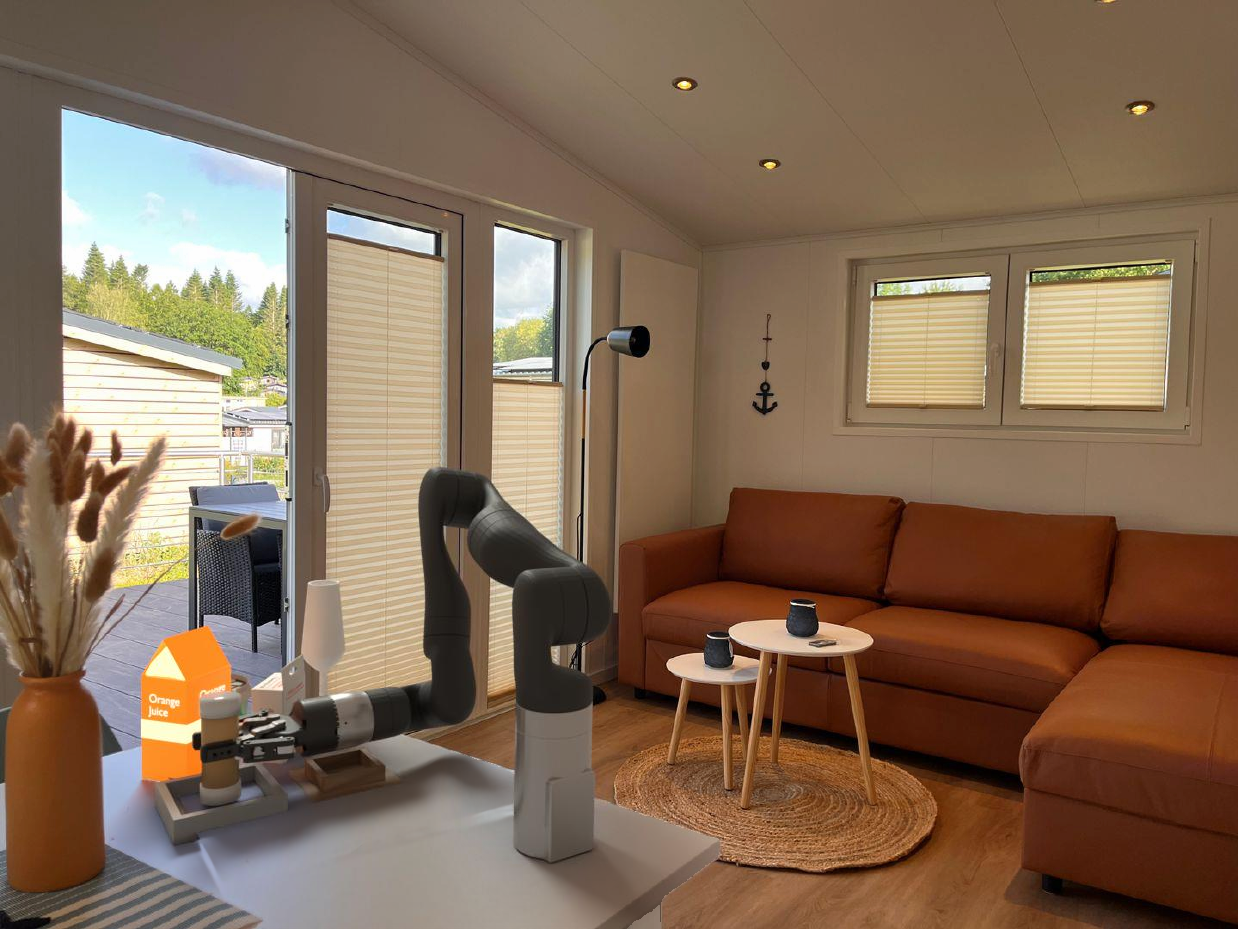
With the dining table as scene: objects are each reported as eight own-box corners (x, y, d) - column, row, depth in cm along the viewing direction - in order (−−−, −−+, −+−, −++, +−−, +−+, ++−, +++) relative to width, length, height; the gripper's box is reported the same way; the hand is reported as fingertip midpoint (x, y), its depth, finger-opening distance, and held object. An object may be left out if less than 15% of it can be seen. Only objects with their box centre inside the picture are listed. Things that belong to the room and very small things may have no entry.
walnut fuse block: (403, 789, 122) (403, 767, 122) (314, 810, 115) (314, 787, 115) (371, 760, 132) (371, 740, 132) (287, 778, 125) (287, 757, 125)
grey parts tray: (287, 818, 113) (287, 795, 112) (173, 845, 105) (173, 820, 105) (260, 782, 123) (260, 761, 123) (155, 805, 116) (155, 782, 115)
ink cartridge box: (274, 747, 136) (274, 652, 135) (306, 748, 136) (306, 653, 135) (249, 769, 128) (249, 668, 127) (284, 770, 128) (284, 669, 127)
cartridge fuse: (245, 799, 114) (244, 699, 113) (204, 808, 111) (203, 705, 110) (236, 786, 117) (235, 689, 117) (196, 795, 115) (195, 695, 114)
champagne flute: (293, 737, 140) (294, 586, 139) (310, 722, 147) (311, 578, 146) (336, 739, 140) (336, 587, 139) (350, 724, 147) (351, 579, 146)
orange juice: (232, 763, 130) (231, 627, 129) (187, 787, 121) (186, 641, 120) (187, 757, 132) (186, 622, 131) (140, 780, 123) (139, 636, 122)
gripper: (316, 682, 128) (185, 703, 118) (350, 710, 116) (208, 736, 106) (316, 733, 128) (185, 759, 118) (350, 767, 117) (208, 798, 107)
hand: (197, 748), depth 112 cm, fingers closed on cartridge fuse, 4 cm apart
